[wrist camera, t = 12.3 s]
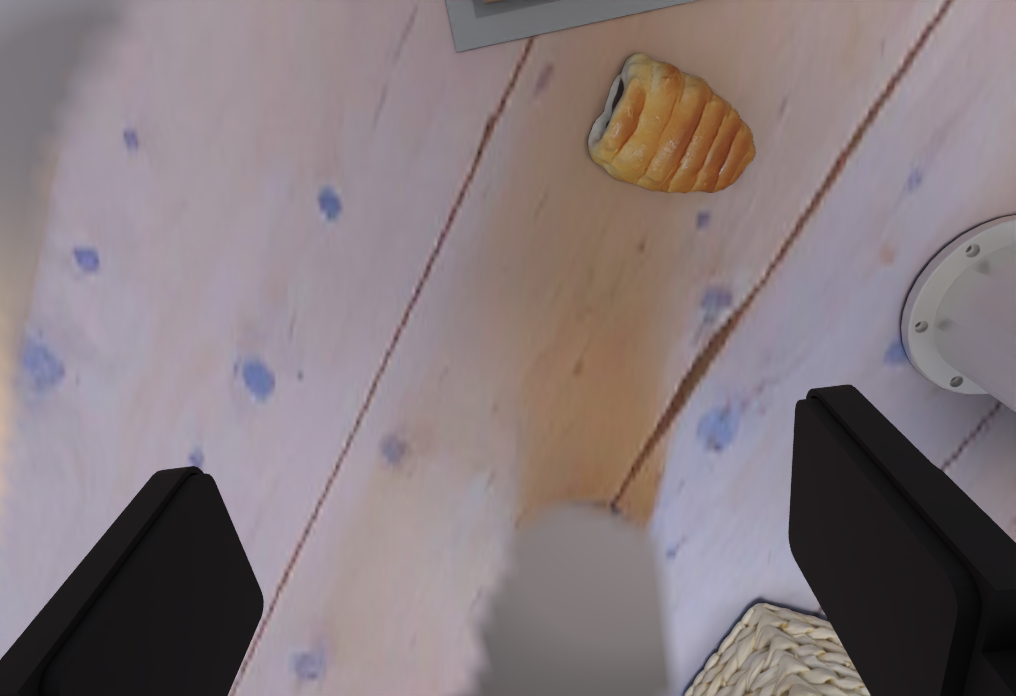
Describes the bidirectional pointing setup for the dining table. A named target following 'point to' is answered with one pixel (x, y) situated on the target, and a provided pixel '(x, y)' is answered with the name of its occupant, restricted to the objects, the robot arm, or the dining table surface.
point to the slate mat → (534, 18)
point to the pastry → (669, 131)
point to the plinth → (490, 0)
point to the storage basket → (779, 659)
